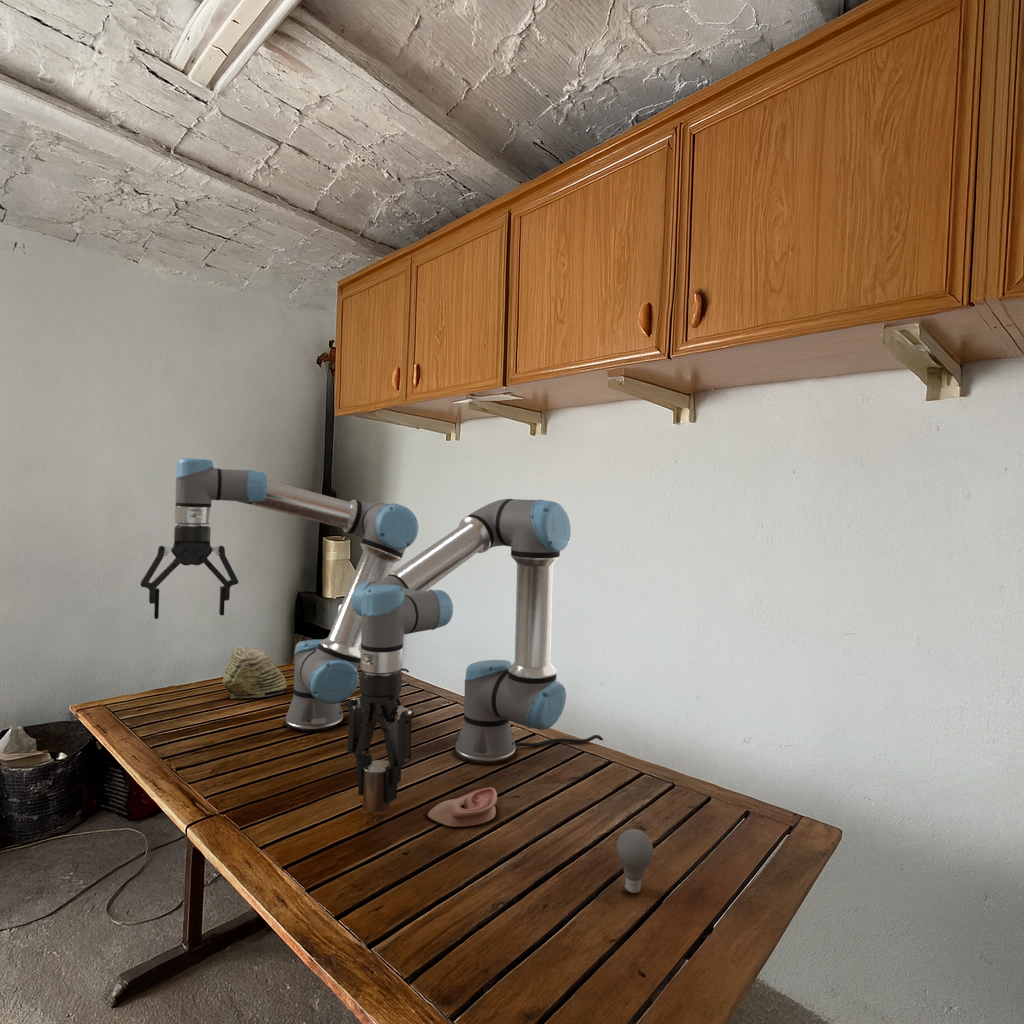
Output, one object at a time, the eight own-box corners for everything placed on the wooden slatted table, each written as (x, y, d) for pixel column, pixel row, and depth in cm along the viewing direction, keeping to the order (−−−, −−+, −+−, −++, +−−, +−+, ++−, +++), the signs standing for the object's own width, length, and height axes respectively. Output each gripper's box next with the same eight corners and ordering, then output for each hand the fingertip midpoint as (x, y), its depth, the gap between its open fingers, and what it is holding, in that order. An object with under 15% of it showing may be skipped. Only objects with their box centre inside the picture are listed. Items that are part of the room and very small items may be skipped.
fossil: (218, 695, 195) (220, 647, 195) (278, 685, 208) (279, 640, 207) (228, 703, 189) (230, 653, 188) (289, 692, 201) (290, 645, 201)
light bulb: (610, 879, 108) (613, 822, 108) (644, 879, 109) (647, 822, 109) (619, 902, 102) (622, 840, 102) (655, 901, 103) (658, 840, 103)
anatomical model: (423, 802, 125) (441, 778, 136) (422, 822, 125) (440, 796, 136) (488, 812, 122) (501, 786, 133) (487, 832, 122) (500, 805, 133)
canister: (369, 796, 119) (370, 758, 119) (396, 800, 118) (397, 761, 118) (357, 810, 114) (358, 770, 114) (385, 814, 113) (386, 773, 113)
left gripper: (130, 525, 137) (127, 622, 138) (252, 526, 150) (249, 615, 151) (130, 523, 144) (127, 616, 144) (247, 525, 157) (244, 610, 157)
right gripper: (328, 667, 116) (324, 792, 117) (410, 684, 108) (406, 818, 109) (355, 658, 123) (352, 776, 124) (434, 673, 115) (430, 800, 115)
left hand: (189, 616), depth 148 cm, fingers open, 13 cm apart
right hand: (377, 796), depth 116 cm, fingers closed on canister, 5 cm apart
